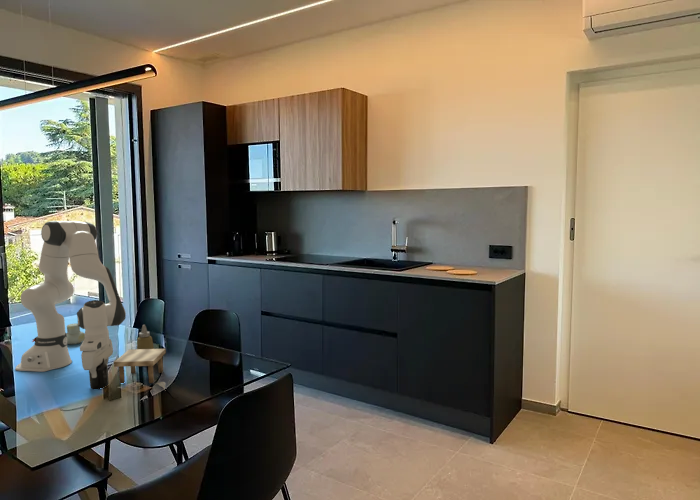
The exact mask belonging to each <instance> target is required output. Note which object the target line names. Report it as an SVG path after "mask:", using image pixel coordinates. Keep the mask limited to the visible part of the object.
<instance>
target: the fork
mask: <svg viewBox="0 0 700 500" xmlns="http://www.w3.org/2000/svg"><path fill="white" fill-rule="evenodd" d="M166 384H167V383H166V382H165V381H159V382H157V383H155V385H158V386H159V387H162V388H163V390H165V388H166Z"/></svg>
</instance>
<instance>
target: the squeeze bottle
mask: <svg viewBox="0 0 700 500" xmlns="http://www.w3.org/2000/svg"><path fill="white" fill-rule="evenodd" d="M136 340H137V341H136V349H155V346H154V342H153V341H154V340H153V337H152V336H151V334H150V331H148V329H147V326H146V324H142V327H141V331H140V332H139V333H138V338H137V339H136Z"/></svg>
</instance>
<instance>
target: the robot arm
mask: <svg viewBox="0 0 700 500" xmlns="http://www.w3.org/2000/svg"><path fill="white" fill-rule="evenodd" d="M40 236H41V238H42V241H43V243H42V244H43V245H42V247H41V248H42V249H41V253H40V259H39V264H38V269H39V271H40V272H41V273H42V274H43V275H44V281H43V282H42V283H38V284H34V285H32V286H29V287H28V288H26V289H24V290H23V291H22V292H21V294H20V302H21V304H22V306H23V307H24V308H25V309H27V310H29V311H30V312H31V314H32V316H33V318H34V320H35V323H36V324H35V325H36V331H37V336H35V337H34V338H33V339H32V340H31V342H32V343H33V342H34V344H33V345H32V346H31V347H30V348H28V349H27V350H26V351H24V353H23V354H22V356H21V359H20V363H18V364H17V365H16V366H15V368H14V369H15V371H21V372H22V371H25V372H39V373H40V372H42V373H43V372H47V371H51V370H56V369H60V368H63V367H66V366H69V365H70V364H71V363H72V362H73V359H71V356H70V353H69V349H68V344H67V331H66V323H65V321H66V320H65V317H64V316H63V314H60V313H58V310H57V309H56V305H57V304H61V303H64V302H65V301H68V299H70V298H71V297H72V296H73V295H74V291H75V288H74V285H73V283H72V282H70V280H69V279H68V267H69V264H70V267H71V270H72V272H73V273H74V274H75V275H77V276H78V277H81V278H84V279H89V280H93V281H96V282H99V283H101V285H103V287H104V289H105V293H106V296H107V299H108V301H109V302H108V303H105V302H104V301H102V300H100V299H93V300H88V301H86V302H85V303H83V307H81V308H80V309H78V310H77V312H76V317H77V324H78V326H79V327H80V329H82V330H84V333H85V339H84V341H82V342H81V343H80V346H79V351H80V352H81V355H80V356H81V365H82V366H81V367H82V368H83V370H84V371H88V372H89V371H90V372H91V374H92V378H96V377H97V376H98V372H96V367H97V366H98V365H100V364H101V363H102V361H103V358H104V363H105V364H107V367H108V368H109V365H108V364H109V358H110V357H112V355H114V354H113V353H114V347H113V343H112V342H113V341H112V339H111V338H110V331H109V328H108V327H116V326H117V327H118V326H120V325H121V324H122V323H123V322H124V321H125V320H126V316H127V315H126V314H127V313H126V309H125V307H124V305H123V302H122V301H121V298H120V295H119V293H118V289H117V286H116V283H115V280H114V277H113V274H112V273H111V269H109V267H108V266H105V265H104V264H103V263H102V262H101V259H100V257H99V250H98V246H97V244H96V243H97V242H96V239H97V237H98V230H97V227H96V226H95V225H94V224H93V223H91V222H88V221H77V220H50V221H46V222H45V223H44V224H43V225H42V227H41V233H40Z"/></svg>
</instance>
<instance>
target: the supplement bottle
mask: <svg viewBox="0 0 700 500" xmlns="http://www.w3.org/2000/svg"><path fill="white" fill-rule="evenodd" d="M108 368H109V366H108V367H107V364H105V363H104V358H103V361H102V363H101V364H100V365H98V366H97V367H96V372H98V376H97V377H96V378H92V374H91V372H90V371H89V370H88V375H89V376H88V377H89V387H90V389H92V390H94V389H98V390H101V389H100V388H103V387H105V386H107V385H108V384H109V383H110V382H109V371H108ZM108 386H109V385H108ZM108 386H107V387H108ZM105 388H106V387H105ZM103 389H104V388H103Z"/></svg>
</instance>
